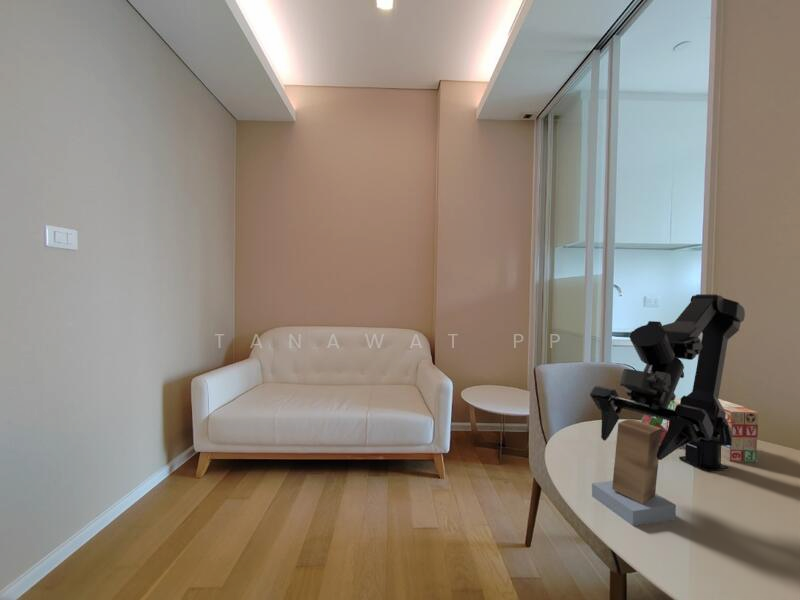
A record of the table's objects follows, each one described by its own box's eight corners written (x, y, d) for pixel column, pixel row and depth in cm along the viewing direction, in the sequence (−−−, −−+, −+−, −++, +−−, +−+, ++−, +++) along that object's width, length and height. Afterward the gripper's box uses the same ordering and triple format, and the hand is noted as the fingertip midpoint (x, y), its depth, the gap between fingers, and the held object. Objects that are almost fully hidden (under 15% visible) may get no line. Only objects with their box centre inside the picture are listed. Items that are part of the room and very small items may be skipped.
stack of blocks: (665, 428, 104) (666, 387, 104) (687, 429, 104) (688, 388, 104) (730, 462, 83) (731, 410, 83) (757, 463, 83) (759, 411, 83)
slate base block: (630, 493, 69) (630, 478, 69) (675, 522, 61) (675, 504, 61) (591, 498, 67) (592, 483, 67) (632, 529, 59) (633, 511, 59)
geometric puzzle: (683, 438, 91) (665, 408, 96) (661, 440, 89) (645, 409, 94) (661, 446, 96) (646, 417, 101) (641, 447, 95) (626, 418, 100)
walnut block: (624, 481, 67) (630, 418, 67) (654, 495, 63) (661, 428, 63) (612, 489, 65) (618, 422, 64) (642, 504, 60) (649, 433, 60)
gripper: (595, 347, 74) (562, 407, 68) (708, 361, 58) (678, 441, 52) (614, 380, 78) (585, 439, 72) (724, 402, 62) (698, 480, 56)
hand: (629, 448), depth 63 cm, fingers open, 9 cm apart
